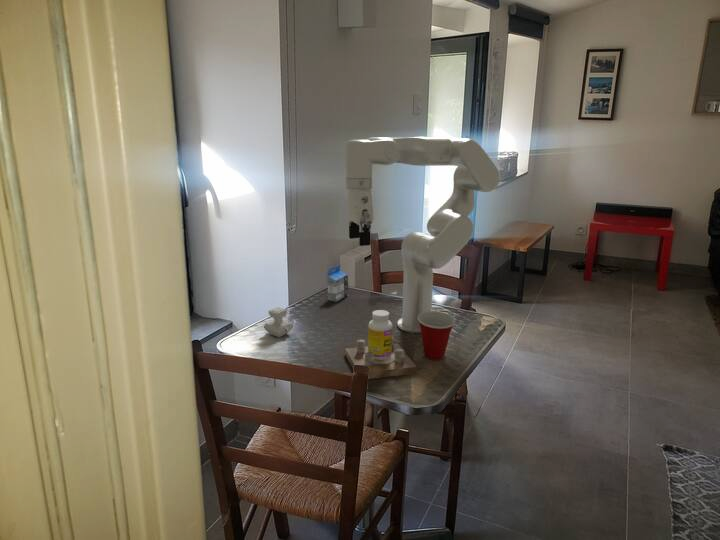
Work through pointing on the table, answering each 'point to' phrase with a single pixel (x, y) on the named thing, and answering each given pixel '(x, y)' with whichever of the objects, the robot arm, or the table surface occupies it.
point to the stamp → (278, 323)
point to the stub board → (381, 361)
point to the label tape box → (337, 284)
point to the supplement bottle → (380, 335)
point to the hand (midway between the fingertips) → (359, 241)
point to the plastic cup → (435, 333)
